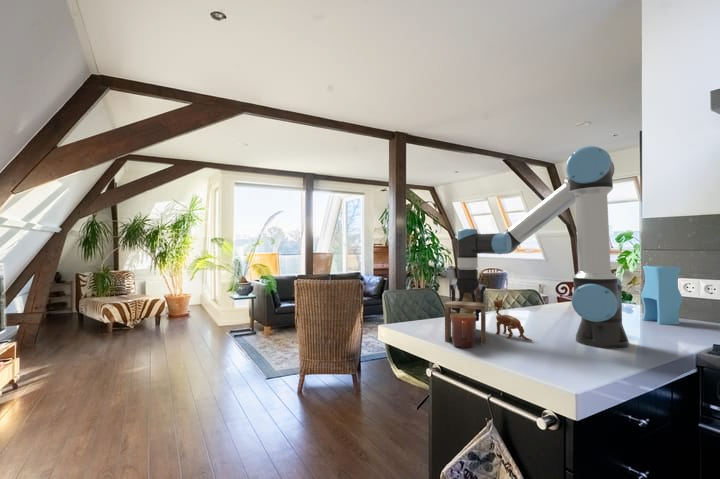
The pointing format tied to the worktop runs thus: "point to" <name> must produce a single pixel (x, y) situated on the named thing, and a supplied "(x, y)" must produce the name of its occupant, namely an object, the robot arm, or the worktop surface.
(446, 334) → the brown wooden frame
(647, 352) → the worktop surface
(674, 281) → the blue arched block
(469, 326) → the mug
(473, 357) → the worktop surface
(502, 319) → the orange brown animal figurine
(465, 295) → the wooden stepped block
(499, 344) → the worktop surface
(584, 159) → the robot arm
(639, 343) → the worktop surface
